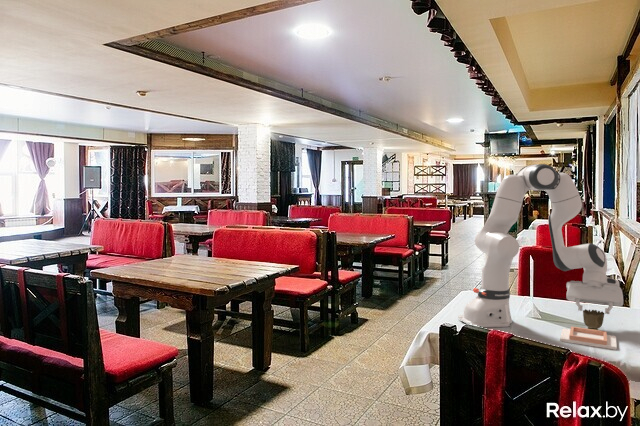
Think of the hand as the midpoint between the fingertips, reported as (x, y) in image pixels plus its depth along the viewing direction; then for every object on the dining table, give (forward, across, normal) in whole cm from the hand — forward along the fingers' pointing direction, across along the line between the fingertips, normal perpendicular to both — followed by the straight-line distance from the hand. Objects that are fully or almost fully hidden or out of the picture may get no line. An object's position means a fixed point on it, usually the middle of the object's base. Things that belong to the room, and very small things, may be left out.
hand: (593, 311), depth 186 cm
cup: (+7, 0, +3) cm, 8 cm away
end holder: (+16, -2, -6) cm, 17 cm away
